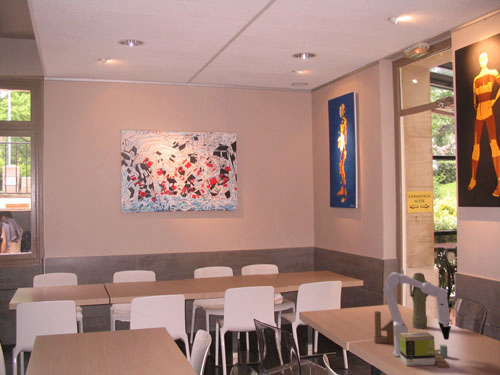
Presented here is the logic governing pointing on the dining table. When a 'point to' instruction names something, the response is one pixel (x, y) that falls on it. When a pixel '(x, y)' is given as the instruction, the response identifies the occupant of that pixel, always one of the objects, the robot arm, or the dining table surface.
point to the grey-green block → (442, 351)
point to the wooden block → (386, 327)
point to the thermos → (419, 303)
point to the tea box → (417, 348)
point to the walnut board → (440, 361)
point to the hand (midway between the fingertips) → (445, 337)
